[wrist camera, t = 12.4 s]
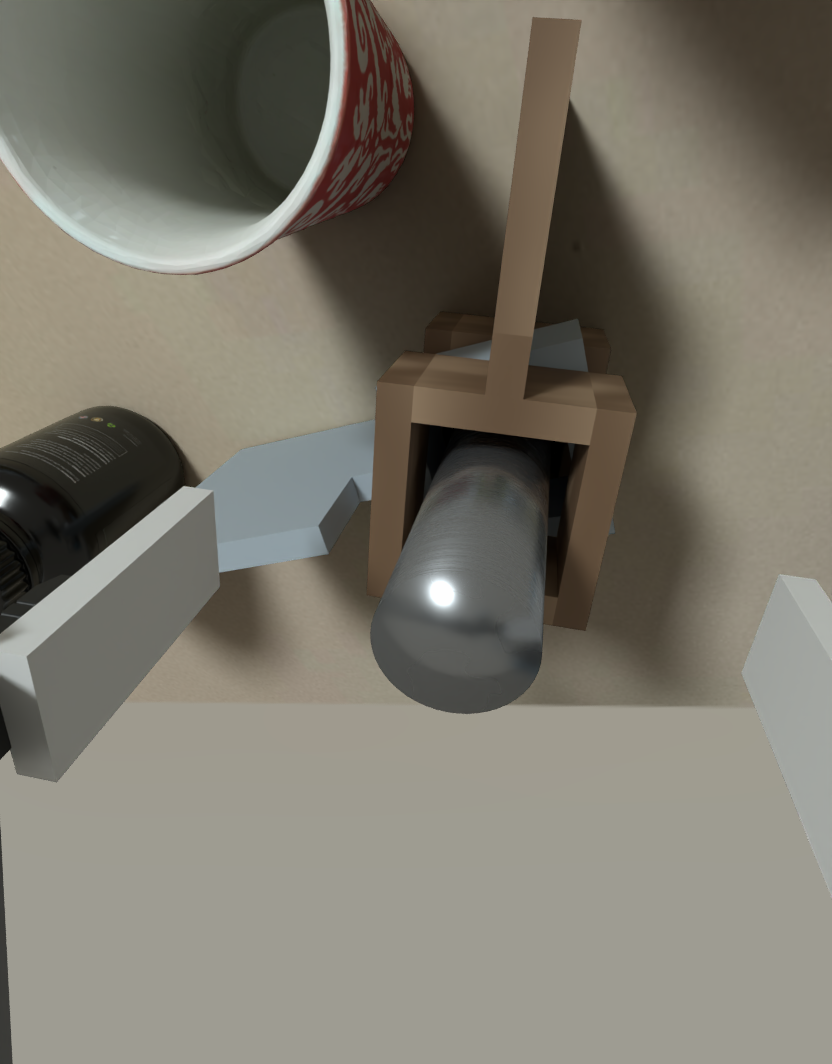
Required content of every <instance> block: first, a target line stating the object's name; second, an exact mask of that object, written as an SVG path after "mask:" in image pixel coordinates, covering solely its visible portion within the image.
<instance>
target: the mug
mask: <svg viewBox="0 0 832 1064" xmlns="http://www.w3.org/2000/svg"><path fill="white" fill-rule="evenodd" d="M413 122H414V97H413V87H412V82H411V78H410V74H409V70H408V67H407V64H406V61H405V59H404V56H403V54H402V51H401V49H400V47H399V45H398V43H397V41H396V39H395V38H394V36H393V35H392V33H391V31H390V30H389V28H388V27H387V25H386V24H385V22H384V21H383V19H382V18H381V16H380V15H379V13H378V12H377V10H376V8H375V7H374V5H373V4H372V2H371V1H370V0H0V159H1V161H2V162H3V164H4V165H5V167H6V168H7V169H8V171H9V172H10V174H11V175H12V177H13V178H14V179H15V181H16V182H17V184H18V185H19V186H20V188H21V189H22V190H23V191H24V192H25V194H26V195H27V196H28V197H29V198H30V199H31V201H32V202H33V203H34V204H35V205H36V206H37V207H38V208H39V209H40V210H41V211H42V212H43V213H44V214H45V215H46V216H47V217H48V218H49V219H50V220H51V221H53V222H54V223H55V224H56V225H57V226H58V227H59V228H60V229H61V230H62V231H64V232H65V233H66V234H68V235H69V236H71V237H72V238H73V239H75V240H77V241H79V242H80V243H82V244H83V245H85V246H86V247H88V248H89V249H91V250H92V251H94V252H96V253H98V254H100V255H103V256H105V257H107V258H109V259H111V260H113V261H116V262H118V263H121V264H124V265H127V266H130V267H133V268H136V269H140V270H144V271H149V272H154V273H162V274H175V275H188V274H193V275H197V274H203V273H208V272H213V271H217V270H220V269H224V268H227V267H230V266H232V265H235V264H237V263H240V262H242V261H245V260H246V259H248V258H250V257H252V256H254V255H255V254H257V253H259V252H260V251H262V250H263V249H265V248H266V247H268V246H269V245H270V244H272V243H273V242H274V241H276V240H277V239H280V238H282V237H285V236H288V235H290V234H292V233H294V232H296V231H300V230H304V229H305V228H307V227H309V226H312V225H315V224H318V223H320V222H322V221H325V220H328V219H332V218H334V217H336V216H337V215H341V214H344V213H347V212H350V211H352V210H355V209H357V208H359V207H361V206H363V205H365V204H367V203H368V202H370V201H371V200H372V199H374V198H375V197H376V196H378V195H379V194H380V193H381V192H382V191H383V190H384V189H385V188H386V187H387V186H388V185H389V184H390V182H391V181H392V180H393V178H394V177H395V175H396V174H397V172H398V170H399V168H400V166H401V165H402V163H403V161H404V158H405V156H406V153H407V150H408V147H409V143H410V139H411V135H412V130H413Z"/></svg>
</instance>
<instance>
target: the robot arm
mask: <svg viewBox="0 0 832 1064" xmlns="http://www.w3.org/2000/svg"><path fill="white" fill-rule="evenodd" d="M219 587H220V578H219V564H218V549H217V535H216V521H215V506H214V492H213V490H207V489H200V488H193V487H186V486H183V487H182V488H181V489H180V490H178V491H177V492H176V493H175V494H173V495H172V496H171V497H170V498H168V499H167V500H166V501H165V502H163V503H162V504H161V505H160V506H158V507H157V508H156V509H155V510H153V511H152V512H151V513H150V514H148V515H147V516H146V517H145V518H143V519H142V520H141V521H140V522H139V523H137V524H136V525H135V526H134V527H132V528H131V529H130V530H129V531H127V532H126V533H125V534H124V535H122V536H121V537H120V538H119V539H117V540H116V541H115V542H114V543H112V544H111V545H110V546H109V547H107V548H106V549H105V550H104V551H102V552H101V553H100V554H99V555H98V556H96V557H95V558H94V559H93V560H91V561H90V562H89V563H88V564H86V565H85V566H84V567H83V568H81V569H80V570H79V571H78V572H76V573H75V574H74V575H73V576H68V575H59V576H57V577H55V578H52V579H50V580H48V581H45V582H43V583H41V584H39V585H36V586H35V587H34V588H32V589H31V590H30V591H28V592H27V593H26V594H24V595H23V596H22V597H21V598H19V599H18V600H17V603H13V604H11V605H10V606H9V607H7V608H6V609H5V610H4V611H2V613H1V615H0V759H1V758H2V757H3V756H4V755H5V754H6V753H7V752H8V751H9V750H10V751H11V754H12V758H13V762H14V765H15V769H16V772H17V774H19V775H24V776H29V777H34V778H39V779H43V780H48V781H53V782H57V781H58V780H59V779H60V778H61V777H62V775H63V774H64V773H65V772H66V771H67V770H68V768H69V767H70V766H71V765H72V764H73V762H74V761H75V760H76V759H77V758H78V756H79V755H80V754H81V753H82V752H83V750H84V749H85V748H86V747H87V746H88V744H89V743H90V742H91V741H92V740H93V738H94V737H95V736H96V735H97V734H98V732H99V731H100V730H101V729H102V728H103V726H104V725H105V724H106V723H107V721H108V720H109V719H110V718H111V717H112V716H113V714H114V713H115V712H116V711H117V710H118V708H119V707H120V706H121V705H122V704H123V702H124V701H125V700H126V699H127V698H128V696H129V695H130V694H131V693H132V692H133V690H134V689H135V688H136V687H137V686H138V684H139V683H140V682H141V681H142V680H143V678H144V677H145V676H146V675H147V674H148V672H149V671H150V670H151V669H152V668H153V666H154V665H155V664H156V663H157V662H158V660H159V659H160V658H161V657H162V656H163V654H164V653H165V652H166V651H167V650H168V648H169V647H170V646H171V645H172V644H173V642H174V641H175V640H176V639H177V638H178V636H179V635H180V634H181V633H182V632H183V630H184V629H185V628H186V627H187V626H188V624H189V623H190V622H191V621H192V620H193V618H194V617H195V616H196V615H197V614H198V612H199V611H200V610H201V609H202V608H203V606H204V605H205V604H206V603H207V602H208V600H209V599H210V598H211V597H212V596H213V594H214V593H215V592H216V591H217V590H218V588H219ZM742 676H743V678H744V681H745V683H746V686H747V688H748V691H749V693H750V696H751V698H752V701H753V703H754V706H755V708H756V711H757V713H758V715H759V718H760V721H761V723H762V725H763V728H764V730H765V733H766V735H767V738H768V740H769V743H770V745H771V748H772V750H773V753H774V755H775V758H776V760H777V763H778V765H779V768H780V770H781V773H782V775H783V778H784V780H785V783H786V785H787V787H788V790H789V792H790V795H791V798H792V800H793V803H794V805H795V808H796V810H797V812H798V815H799V818H800V820H801V823H802V825H803V828H804V830H805V832H806V835H807V837H808V840H809V843H810V845H811V848H812V850H813V853H814V855H815V858H816V860H817V862H818V865H819V868H820V870H821V873H822V875H823V877H824V880H825V883H826V885H827V888H828V890H829V892H830V895H831V898H832V602H831V601H830V599H829V598H828V596H827V595H826V593H825V592H824V591H823V589H822V588H821V586H820V585H819V583H818V582H817V580H816V579H809V578H802V577H795V576H789V575H782V574H779V576H778V578H777V581H776V584H775V586H774V589H773V591H772V594H771V597H770V599H769V602H768V605H767V607H766V610H765V612H764V615H763V618H762V620H761V623H760V626H759V628H758V631H757V633H756V636H755V639H754V641H753V644H752V646H751V649H750V652H749V654H748V657H747V660H746V662H745V665H744V667H743V670H742ZM0 1064H12V1046H11V1026H10V1006H9V987H8V967H7V947H6V928H5V908H4V888H3V868H2V849H1V830H0Z"/></svg>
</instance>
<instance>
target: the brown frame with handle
mask: <svg viewBox="0 0 832 1064" xmlns="http://www.w3.org/2000/svg"><path fill="white" fill-rule="evenodd" d="M580 27H581V20H573V19H555V18H537V17H533V19H532V27H531V35H530V43H529V51H528V59H527V66H526V74H525V82H524V90H523V98H522V106H521V114H520V122H519V130H518V138H517V146H516V154H515V161H514V169H513V177H512V185H511V193H510V201H509V209H508V217H507V225H506V233H505V241H504V249H503V256H502V264H501V272H500V280H499V288H498V296H497V304H496V312H495V317H486V316H477V315H468V314H458V313H449V312H440V313H439V314H438V315H437V316H436V317H435V318H434V319H433V321H432V322H431V323H430V324H429V325H428V326H427V327H426V328H425V341H424V353H422V352H413V351H404V353H403V354H402V355H401V356H400V357H399V358H398V359H397V360H396V361H395V363H394V364H393V365H392V366H391V367H390V368H389V369H388V370H387V371H386V372H385V374H384V375H383V376H382V377H381V378H380V379H379V380H378V381H377V396H376V416H375V436H374V456H373V476H372V496H371V516H370V536H369V556H368V576H367V595H369V596H375V597H381V598H382V596H383V593H384V591H385V589H386V586H387V584H388V582H389V579H390V577H391V575H392V573H393V570H394V568H395V566H396V563H397V561H398V559H399V556H400V554H401V552H402V549H403V547H404V545H405V542H406V540H407V538H408V535H409V533H410V531H411V529H412V526H413V524H414V522H415V519H416V517H417V515H418V512H419V510H420V508H421V505H422V503H423V495H424V484H425V473H426V462H427V451H428V439H429V428H430V425H436V426H440V427H441V431H442V435H443V438H444V442H445V446H446V448H447V445H448V443H449V441H450V438H451V433H452V428H460V429H467V430H475V431H483V432H490V433H498V434H506V435H513V436H521V437H529V438H536V439H544V440H552V441H558V443H557V448H556V454H555V458H554V457H551V461H550V479H553V478H559V477H564V476H568V481H567V486H566V492H565V497H564V502H563V507H562V512H561V517H560V522H559V527H558V532H557V537H553V536H547V553H546V576H545V599H544V621H543V624H547V625H553V626H559V627H565V628H571V629H577V630H584V631H586V627H587V622H588V618H589V614H590V610H591V606H592V601H593V597H594V593H595V589H596V584H597V580H598V576H599V572H600V567H601V563H602V559H603V555H604V551H605V546H606V542H607V538H608V534H609V529H610V525H611V521H612V517H613V512H614V508H615V504H616V500H617V496H618V491H619V487H620V483H621V479H622V474H623V470H624V466H625V462H626V457H627V453H628V449H629V445H630V441H631V436H632V432H633V428H634V424H635V419H636V415H637V413H636V410H635V408H634V405H633V403H632V400H631V398H630V395H629V393H628V390H627V388H626V385H625V383H624V380H623V378H622V376H618V375H609V374H606V372H607V367H608V362H609V358H610V353H611V347H610V345H609V342H608V340H607V337H606V335H605V332H604V330H603V329H596V328H586V327H580V329H581V334H582V338H583V344H584V350H585V356H586V362H587V368H588V372H584V371H575V370H567V369H558V368H550V367H541V366H532V365H529V358H530V352H531V345H532V339H533V332H534V329H538V328H542V327H546V326H550V325H554V324H550V323H541V322H535V319H536V313H537V306H538V300H539V293H540V287H541V280H542V274H543V267H544V261H545V254H546V248H547V241H548V235H549V228H550V222H551V215H552V209H553V202H554V196H555V189H556V183H557V176H558V170H559V163H560V157H561V150H562V144H563V137H564V131H565V124H566V118H567V111H568V105H569V98H570V92H571V85H572V79H573V72H574V66H575V59H576V53H577V46H578V40H579V33H580ZM489 340H492V343H491V351H490V359H489V360H481V359H473V358H464V357H456V356H447V355H439V354H437V353H441V352H445V351H449V350H453V349H457V348H461V347H465V346H469V345H473V344H477V343H481V342H485V341H489ZM568 443H575V446H574V451H573V456H572V461H571V456H570V451H569V445H568Z"/></svg>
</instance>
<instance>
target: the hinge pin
mask: <svg viewBox="0 0 832 1064" xmlns="http://www.w3.org/2000/svg"><path fill="white" fill-rule="evenodd" d="M550 461H551V440H544V439H536V438H529V437H521V436H513V435H506V434H498V433H490V432H483V431H475V430H467V429H460V428H455V429H454V431H453V434H452V436H451V438H450V441H449V443H448V445H447V448H446V450H445V452H444V454H443V457H442V459H441V461H440V464H439V466H438V468H437V471H436V473H435V475H434V478H433V480H432V482H431V485H430V487H429V489H428V492H427V494H426V496H425V498H424V501H423V503H422V505H421V508H420V510H419V512H418V515H417V517H416V519H415V522H414V524H413V526H412V529H411V531H410V533H409V535H408V538H407V540H406V542H405V545H404V547H403V549H402V552H401V554H400V556H399V559H398V561H397V563H396V566H395V568H394V570H393V573H392V575H391V577H390V579H389V582H388V584H387V586H386V589H385V591H384V593H383V596H382V598H381V600H380V603H379V605H378V607H377V610H376V612H375V614H374V617H373V621H372V624H371V632H370V633H371V645H372V650H373V653H374V656H375V659H376V661H377V663H378V665H379V667H380V669H381V670H382V672H383V673H384V675H385V676H386V677H387V678H388V680H389V681H390V682H391V683H392V684H393V685H394V686H395V687H396V688H397V689H399V690H400V691H401V692H403V693H404V694H405V695H407V696H408V697H410V698H411V699H413V700H415V701H417V702H419V703H421V704H423V705H425V706H428V707H431V708H434V709H437V710H441V711H445V712H451V713H462V714H471V713H481V712H487V711H491V710H494V709H497V708H500V707H502V706H505V705H507V704H509V703H511V702H512V701H514V700H516V699H517V698H518V697H519V696H521V695H522V694H523V693H524V692H525V691H526V690H527V689H528V688H529V687H530V685H531V684H532V682H533V681H534V680H535V678H536V675H537V673H538V671H539V668H540V664H541V659H542V644H543V621H544V599H545V576H546V553H547V530H548V507H549V484H550Z"/></svg>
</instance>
